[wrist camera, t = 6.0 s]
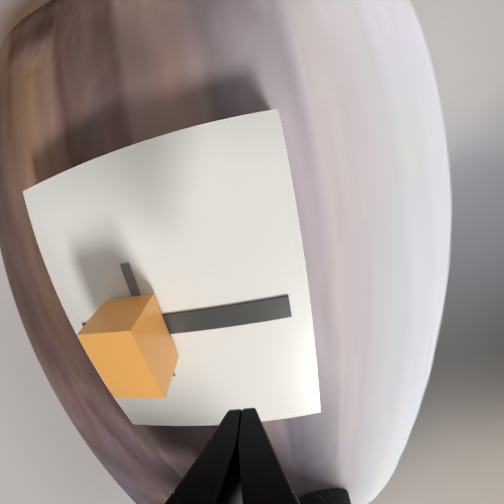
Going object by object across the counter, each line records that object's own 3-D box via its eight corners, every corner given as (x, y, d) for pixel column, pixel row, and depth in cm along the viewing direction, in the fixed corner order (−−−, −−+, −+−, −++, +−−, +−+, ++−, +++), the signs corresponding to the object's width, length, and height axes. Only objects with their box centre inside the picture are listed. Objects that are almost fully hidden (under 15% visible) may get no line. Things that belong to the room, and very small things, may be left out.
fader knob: (179, 356, 15) (165, 398, 12) (132, 359, 15) (114, 397, 12) (153, 293, 14) (130, 330, 11) (105, 300, 14) (76, 334, 11)
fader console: (315, 387, 19) (321, 413, 17) (141, 402, 21) (132, 425, 18) (274, 115, 13) (278, 108, 11) (47, 183, 14) (21, 191, 12)
